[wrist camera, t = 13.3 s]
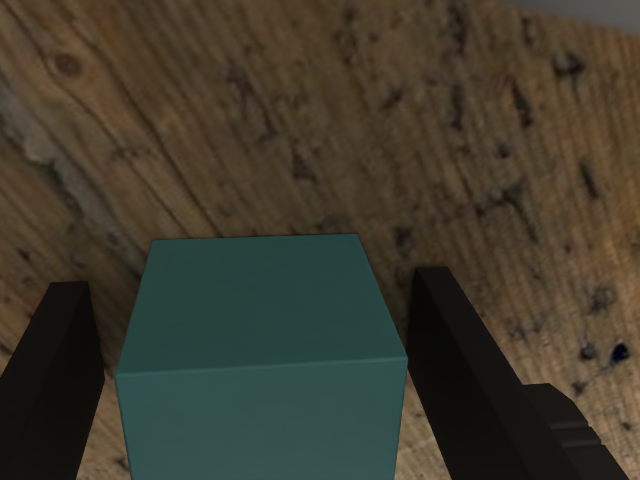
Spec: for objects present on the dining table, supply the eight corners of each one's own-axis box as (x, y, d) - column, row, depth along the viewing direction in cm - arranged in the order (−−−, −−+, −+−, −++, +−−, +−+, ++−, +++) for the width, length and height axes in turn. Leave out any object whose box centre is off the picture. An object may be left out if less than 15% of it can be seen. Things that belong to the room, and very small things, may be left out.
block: (151, 239, 13) (112, 374, 9) (357, 232, 13) (409, 357, 9) (170, 400, 15) (144, 571, 11) (347, 388, 15) (387, 546, 11)
